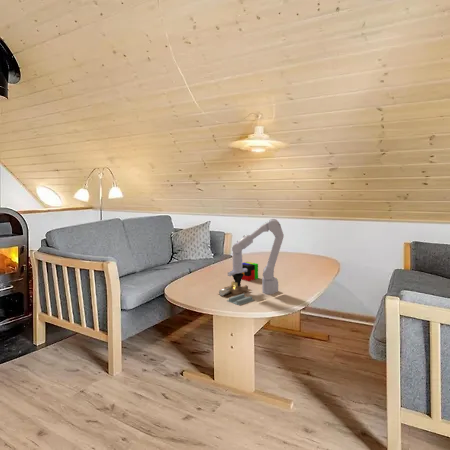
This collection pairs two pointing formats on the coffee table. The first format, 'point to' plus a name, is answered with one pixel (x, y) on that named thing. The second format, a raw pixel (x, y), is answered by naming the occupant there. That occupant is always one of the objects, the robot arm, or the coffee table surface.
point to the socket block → (237, 291)
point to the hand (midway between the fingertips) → (237, 285)
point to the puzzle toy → (250, 271)
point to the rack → (240, 299)
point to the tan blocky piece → (234, 285)
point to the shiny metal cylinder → (225, 291)
